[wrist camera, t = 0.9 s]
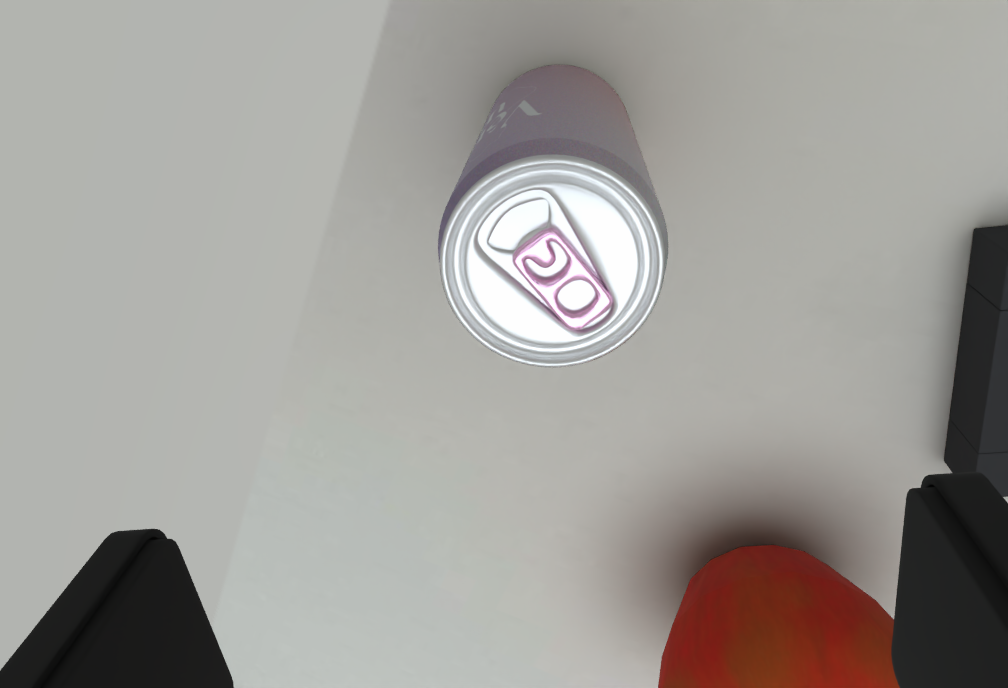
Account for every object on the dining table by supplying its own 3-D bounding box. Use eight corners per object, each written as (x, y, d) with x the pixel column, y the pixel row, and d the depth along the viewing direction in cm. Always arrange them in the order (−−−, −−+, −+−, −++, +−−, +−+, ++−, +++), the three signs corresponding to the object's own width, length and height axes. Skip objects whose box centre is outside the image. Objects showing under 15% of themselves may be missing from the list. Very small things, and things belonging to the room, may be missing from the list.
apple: (909, 512, 40) (1065, 771, 27) (828, 672, 45) (927, 949, 33) (671, 471, 40) (719, 711, 27) (618, 636, 45) (638, 900, 33)
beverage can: (545, 233, 35) (531, 413, 21) (457, 126, 33) (382, 250, 19) (658, 148, 33) (721, 289, 19) (571, 29, 31) (574, 94, 17)
